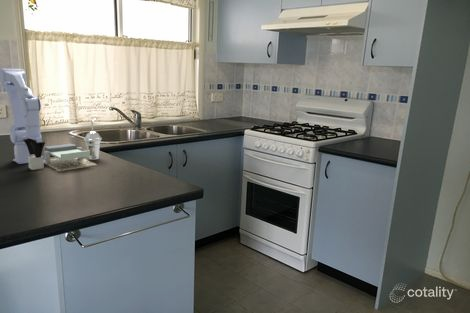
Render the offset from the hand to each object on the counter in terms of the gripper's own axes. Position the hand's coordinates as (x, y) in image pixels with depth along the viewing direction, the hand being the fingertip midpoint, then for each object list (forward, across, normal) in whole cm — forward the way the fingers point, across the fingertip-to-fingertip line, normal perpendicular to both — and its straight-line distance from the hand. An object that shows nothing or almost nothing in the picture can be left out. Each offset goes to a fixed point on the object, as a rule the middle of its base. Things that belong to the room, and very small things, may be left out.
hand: (35, 155), depth 171 cm
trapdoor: (+3, 0, +14) cm, 14 cm away
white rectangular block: (+6, 0, 0) cm, 6 cm away
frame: (+6, 0, +14) cm, 15 cm away
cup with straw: (+6, -2, +28) cm, 29 cm away
